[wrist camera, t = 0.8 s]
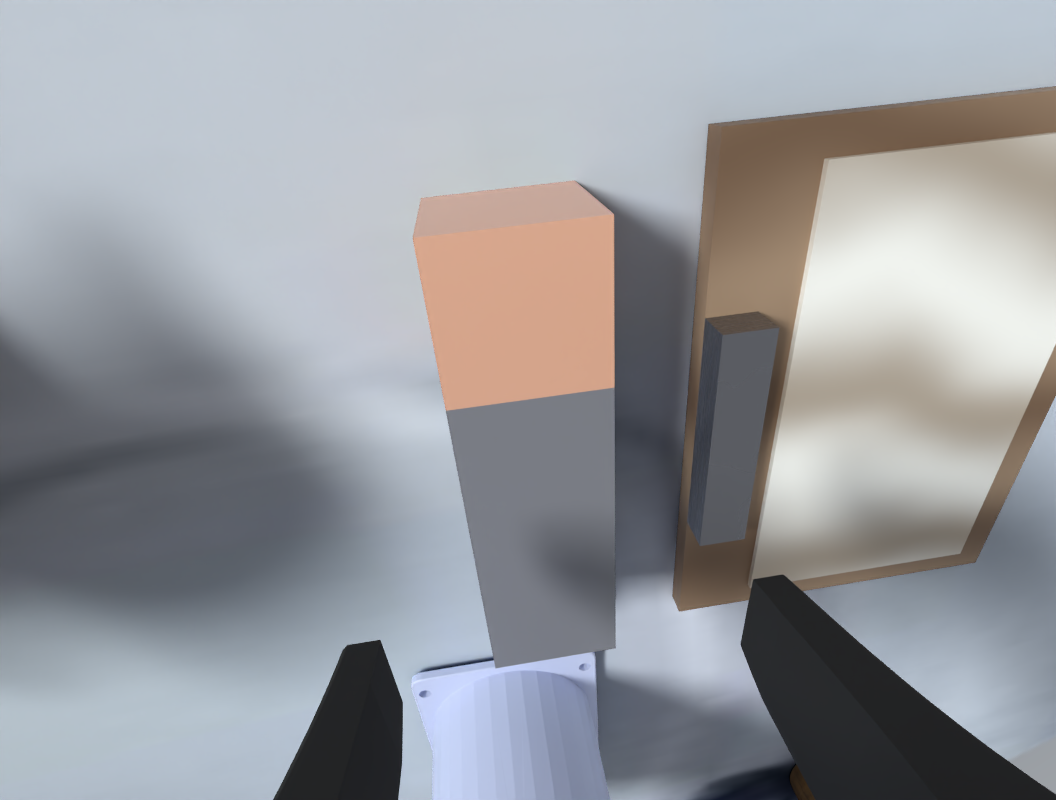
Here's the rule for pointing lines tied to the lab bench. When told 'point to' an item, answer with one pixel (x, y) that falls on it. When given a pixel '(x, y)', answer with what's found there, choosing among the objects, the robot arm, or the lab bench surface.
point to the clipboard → (866, 340)
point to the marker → (530, 404)
